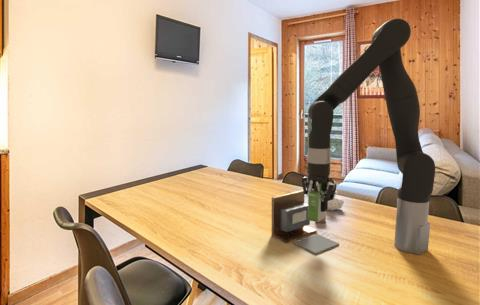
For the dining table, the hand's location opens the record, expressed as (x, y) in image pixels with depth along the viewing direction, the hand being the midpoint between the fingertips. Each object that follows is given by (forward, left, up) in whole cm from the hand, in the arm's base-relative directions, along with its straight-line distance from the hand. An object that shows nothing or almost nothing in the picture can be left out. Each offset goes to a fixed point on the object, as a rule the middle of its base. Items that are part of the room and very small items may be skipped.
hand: (317, 208), depth 104 cm
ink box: (0, 0, -4) cm, 4 cm away
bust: (+21, -33, -13) cm, 41 cm away
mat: (0, 0, -13) cm, 13 cm away
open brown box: (+11, 0, -13) cm, 17 cm away
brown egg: (+14, -18, -13) cm, 26 cm away
